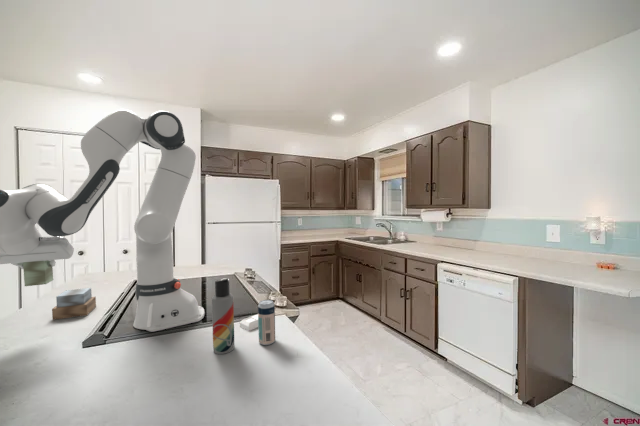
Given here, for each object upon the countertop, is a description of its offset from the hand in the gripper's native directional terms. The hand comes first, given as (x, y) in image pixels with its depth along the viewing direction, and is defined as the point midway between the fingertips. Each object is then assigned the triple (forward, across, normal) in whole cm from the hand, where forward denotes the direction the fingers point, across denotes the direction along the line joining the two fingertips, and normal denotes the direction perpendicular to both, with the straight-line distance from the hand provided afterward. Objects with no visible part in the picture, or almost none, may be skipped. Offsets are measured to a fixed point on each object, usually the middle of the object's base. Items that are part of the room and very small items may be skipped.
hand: (39, 265), depth 91 cm
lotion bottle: (-9, -53, +41) cm, 67 cm away
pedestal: (+28, -3, +3) cm, 28 cm away
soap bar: (+1, -64, +32) cm, 71 cm away
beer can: (-9, -65, +41) cm, 77 cm away
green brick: (+3, 0, +4) cm, 5 cm away
